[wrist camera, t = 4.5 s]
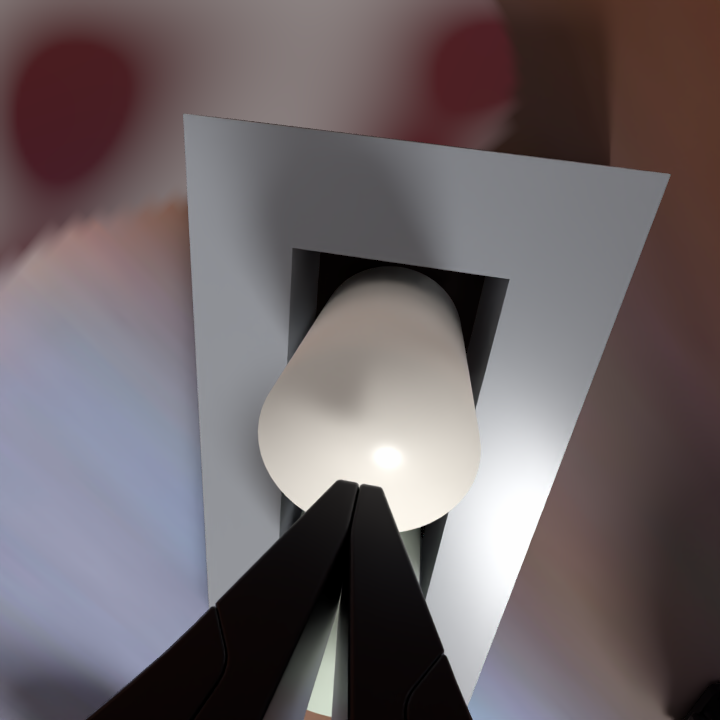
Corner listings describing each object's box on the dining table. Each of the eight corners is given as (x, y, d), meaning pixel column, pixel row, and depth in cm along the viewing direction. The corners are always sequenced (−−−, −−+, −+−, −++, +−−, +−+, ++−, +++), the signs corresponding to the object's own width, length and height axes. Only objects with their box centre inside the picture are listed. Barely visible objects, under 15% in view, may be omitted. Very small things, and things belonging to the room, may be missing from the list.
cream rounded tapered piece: (475, 277, 14) (506, 369, 9) (446, 407, 17) (454, 550, 11) (326, 256, 15) (259, 330, 9) (315, 385, 17) (256, 512, 11)
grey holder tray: (611, 166, 14) (670, 174, 11) (441, 684, 27) (443, 768, 23) (240, 119, 15) (182, 113, 12) (242, 642, 28) (214, 716, 24)
